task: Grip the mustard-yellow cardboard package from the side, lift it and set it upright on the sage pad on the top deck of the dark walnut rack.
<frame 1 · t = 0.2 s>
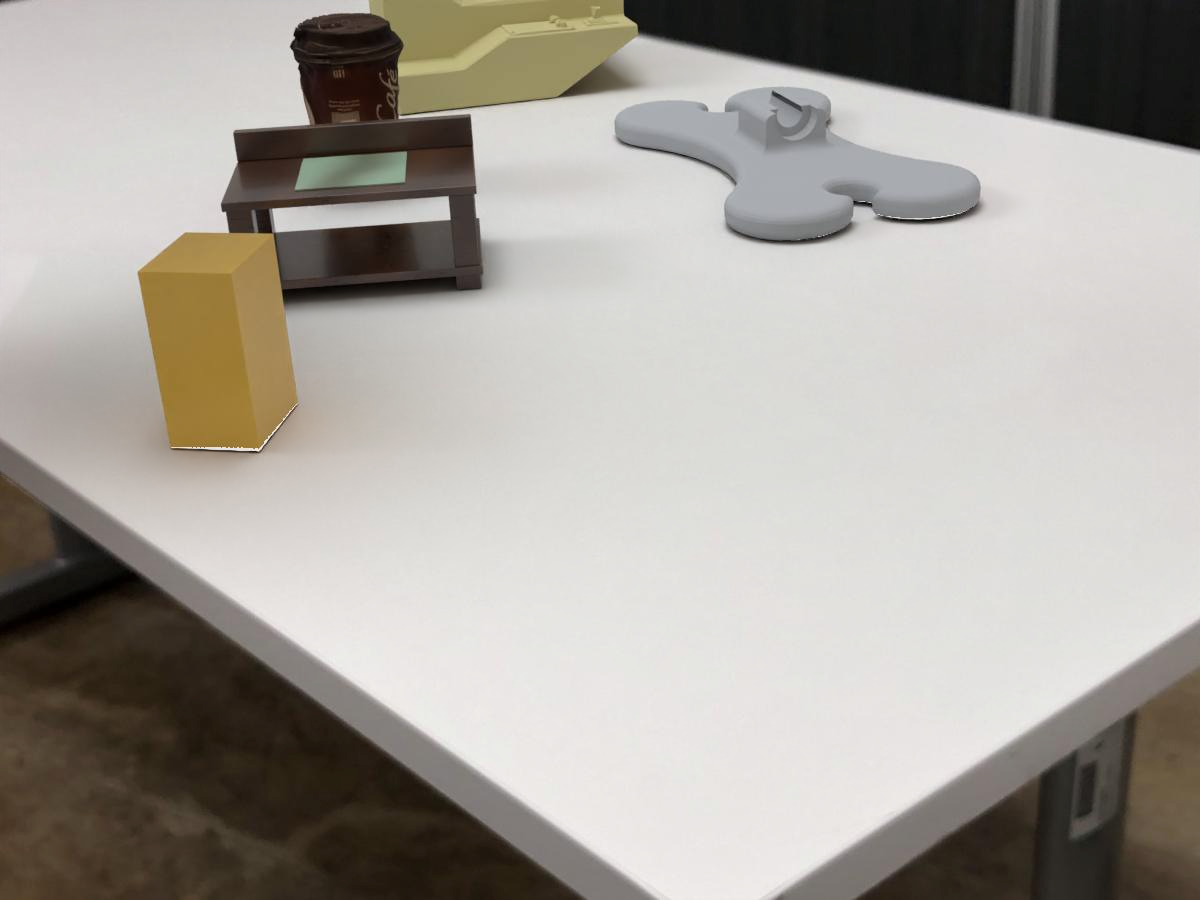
holder: (782, 169, 123), on the table
control panel: (500, 81, 153), on the table
rack: (364, 271, 106), on the table
coffee cup: (362, 191, 123), on the table
package: (236, 426, 85), on the table
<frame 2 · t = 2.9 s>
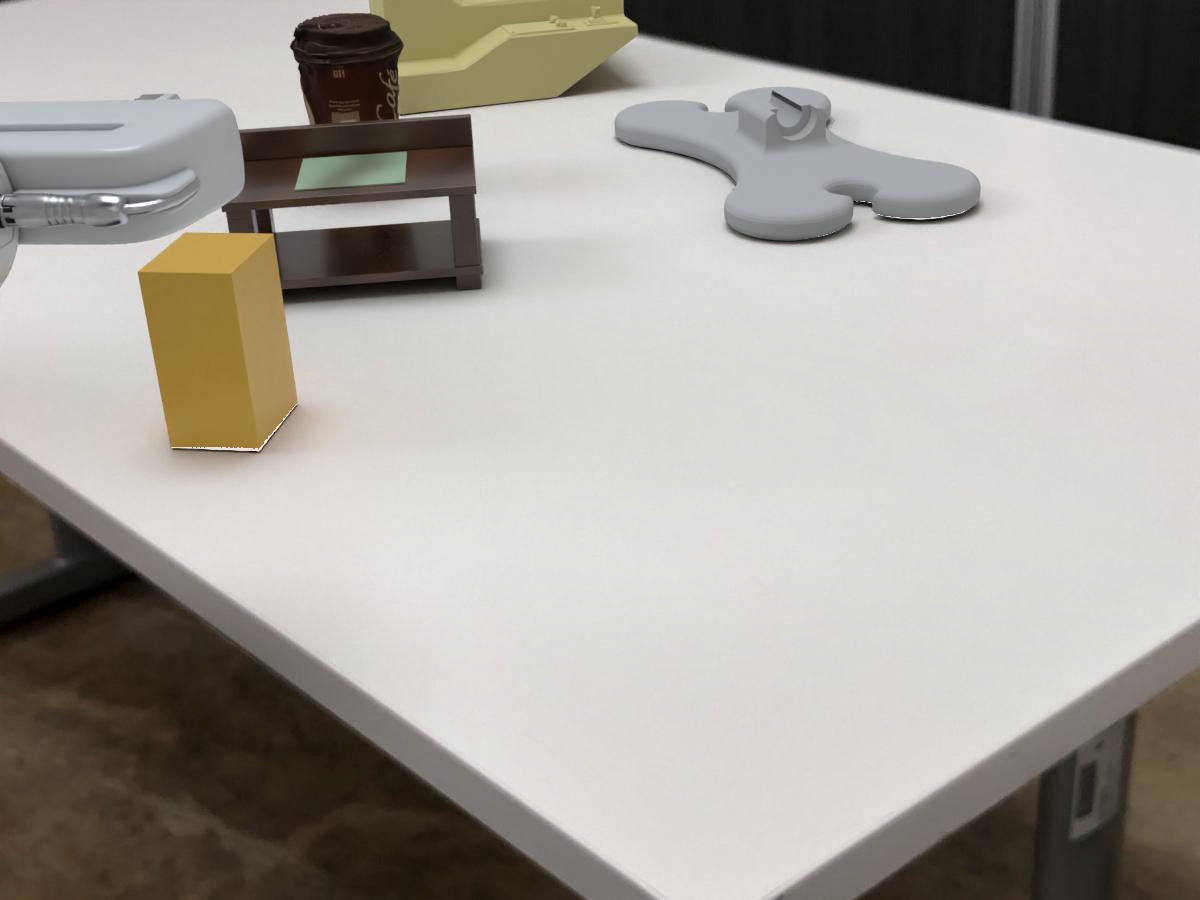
hand: (61, 114, 66), 20 cm above the table, tool horizontal, fingers open, 8 cm apart
nothing on the table moved.
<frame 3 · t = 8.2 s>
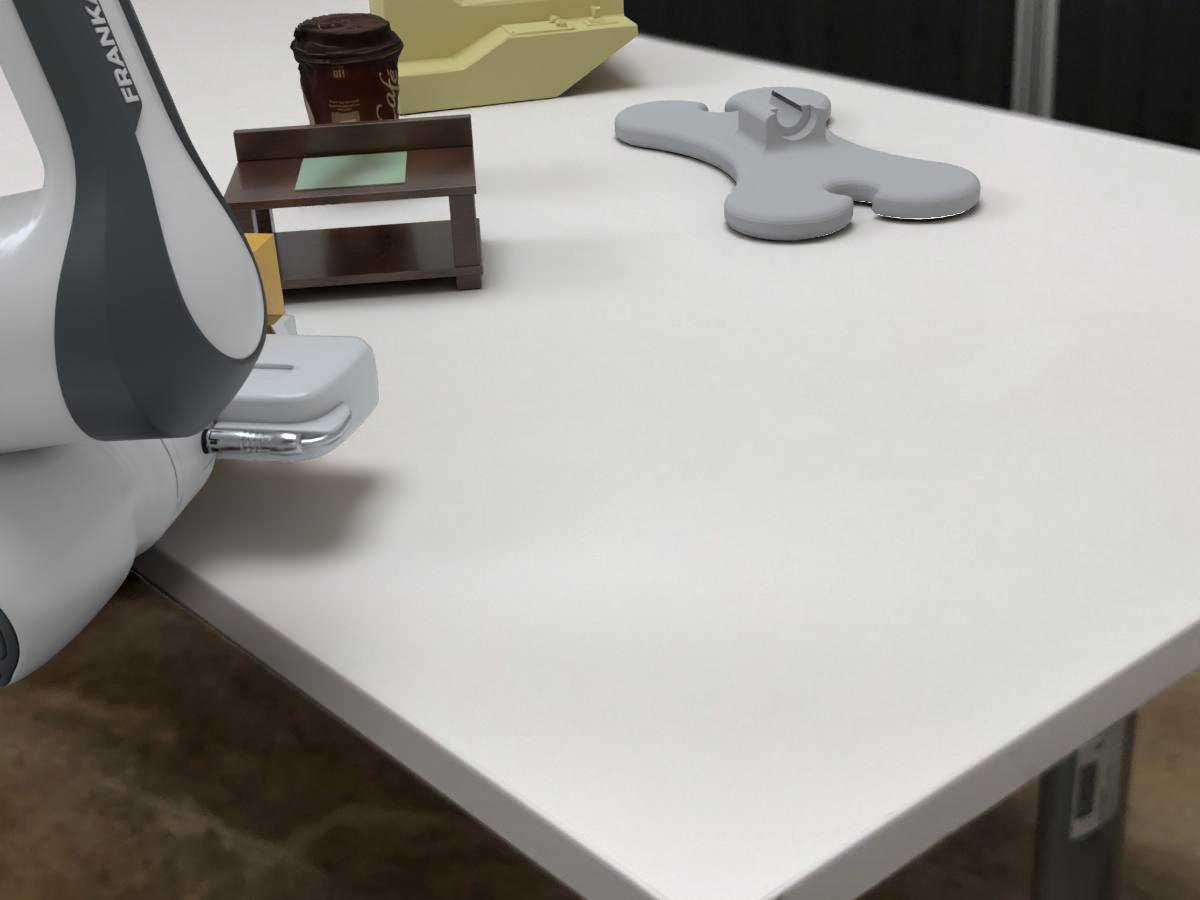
hand: (226, 325, 84), 6 cm above the table, tool horizontal, fingers closed on package, 5 cm apart
package: (236, 426, 85), on the table, touching gripper
everything else where it was.
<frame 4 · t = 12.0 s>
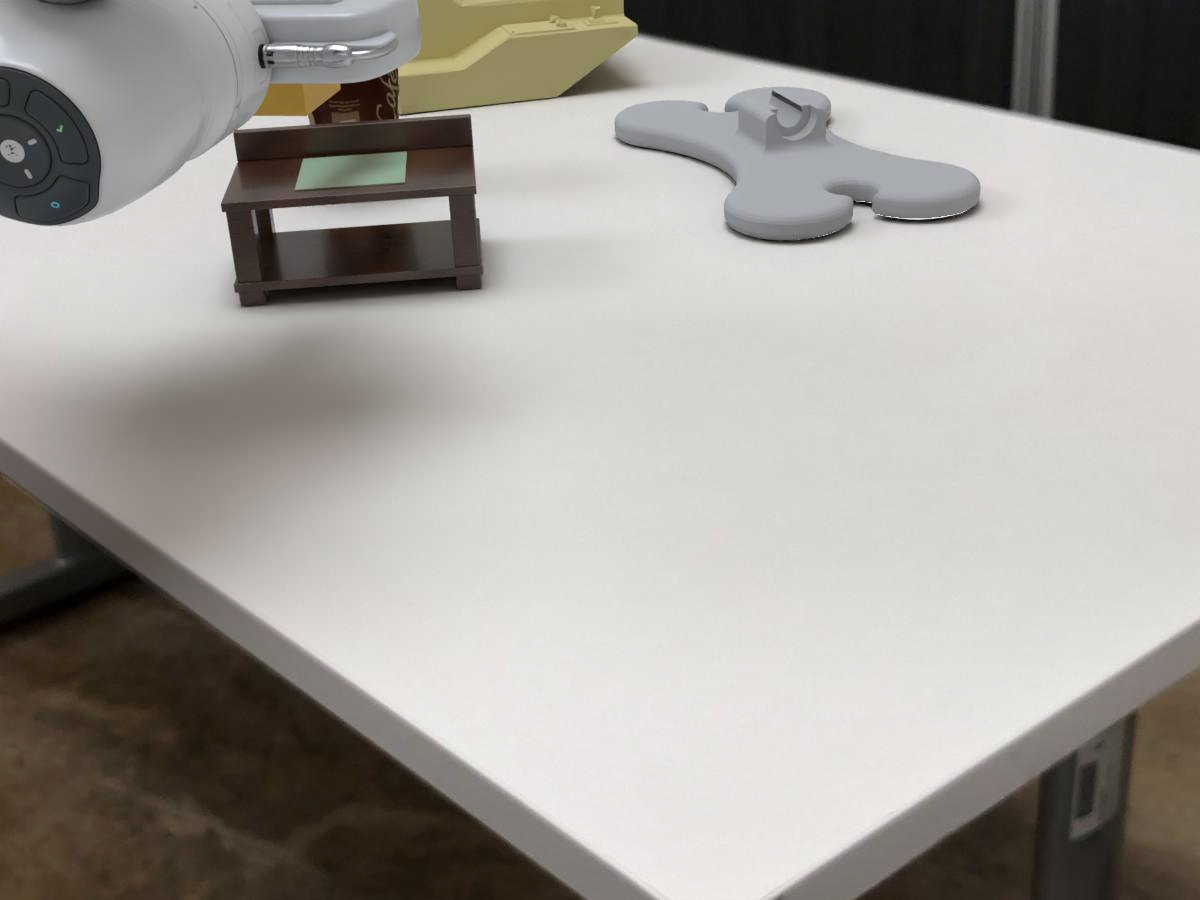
hand: (274, 1, 89), 20 cm above the table, tool horizontal, fingers closed on package, 5 cm apart
package: (283, 102, 90), point 14 cm above the table, touching gripper
everything else where it was.
when the fingers open (13 cm above the table, at t = 15.9 s): package stays where it is, resting on rack.
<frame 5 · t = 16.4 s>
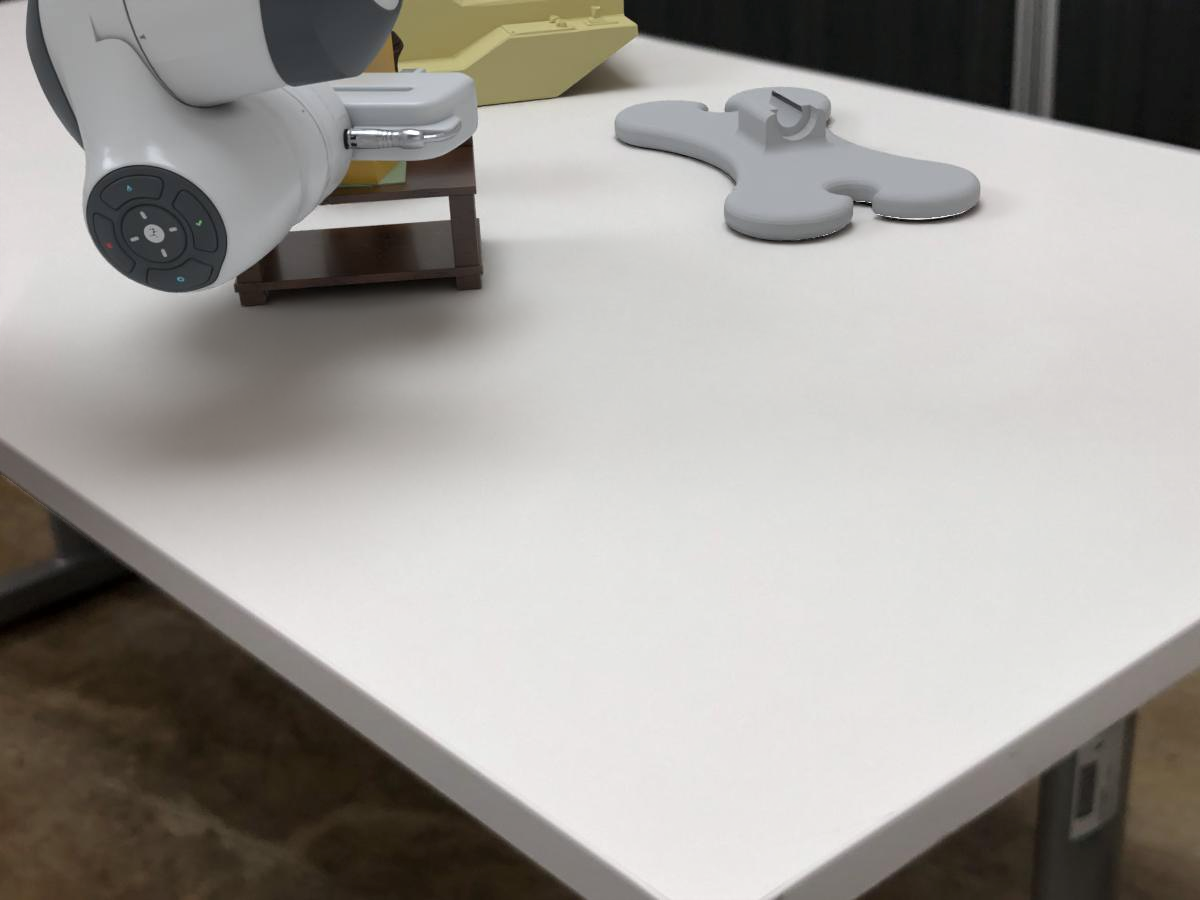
hand: (346, 81, 101), 13 cm above the table, tool horizontal, fingers open, 8 cm apart
package: (354, 170, 103), point 7 cm above the table, touching rack
everything else where it was.
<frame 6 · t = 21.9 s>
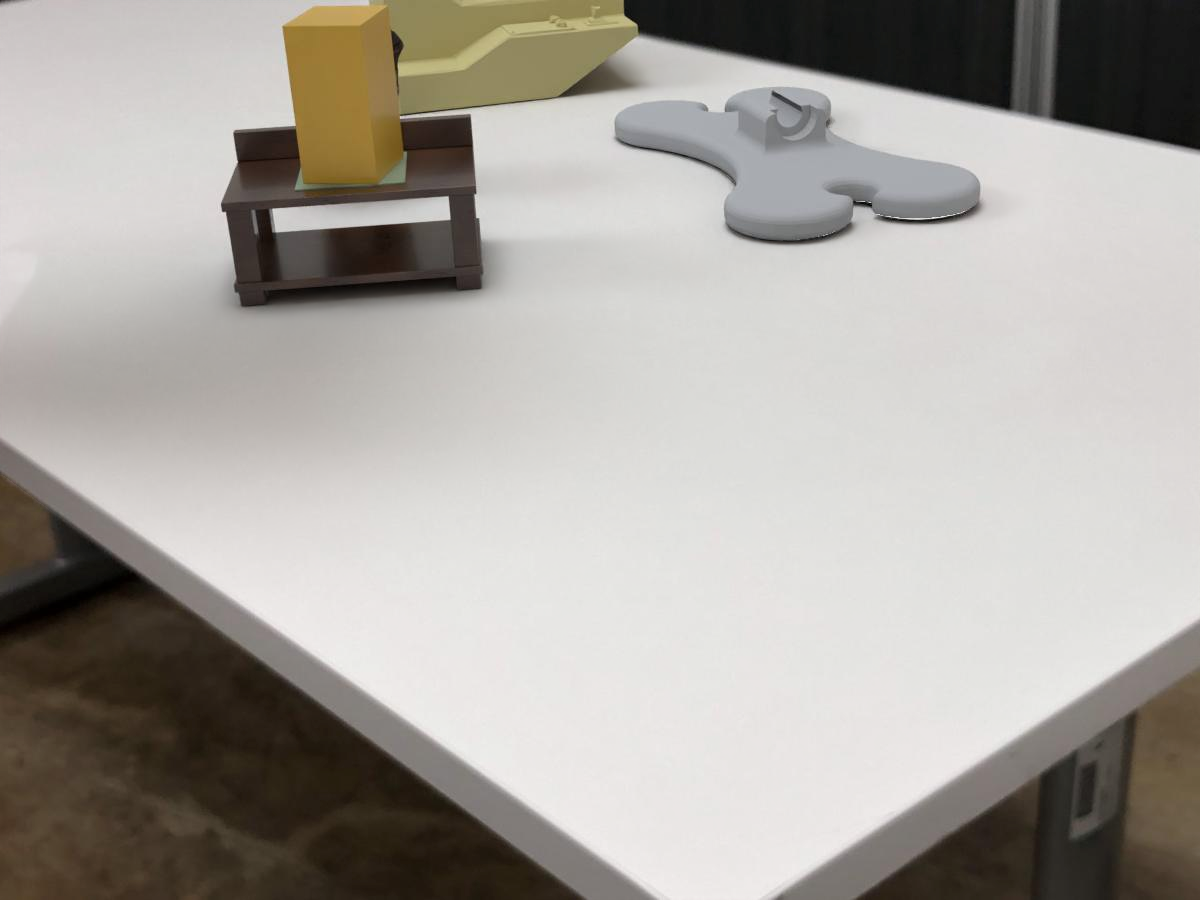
nothing on the table moved.
at the end: package inside the target area on the rack (0.1 cm from its centre), point 7.1 cm above the rack's base; package tilted 0°; the gripper is holding nothing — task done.
